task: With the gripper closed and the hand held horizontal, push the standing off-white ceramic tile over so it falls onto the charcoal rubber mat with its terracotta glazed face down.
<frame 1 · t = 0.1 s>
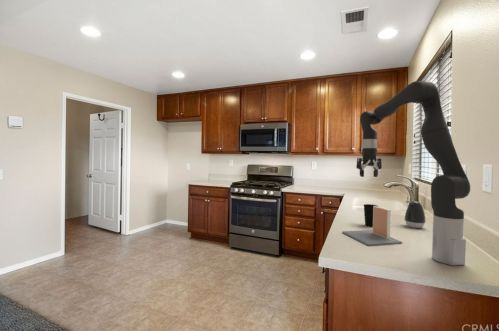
hand: (368, 176, 140), 29 cm above the countertop, tool pointing down, fingers open, 8 cm apart
pump dispenser: (414, 227, 146), on the countertop
mat: (370, 237, 124), on the countertop
tile: (380, 235, 126), point 1 cm above the countertop, touching mat
cup: (370, 226, 148), on the countertop
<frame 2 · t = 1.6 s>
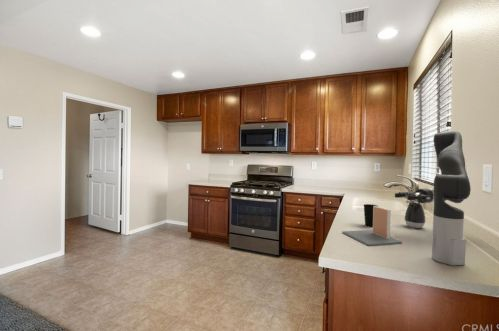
hand: (401, 196, 128), 20 cm above the countertop, tool horizontal, fingers open, 7 cm apart
nothing on the countertop moved.
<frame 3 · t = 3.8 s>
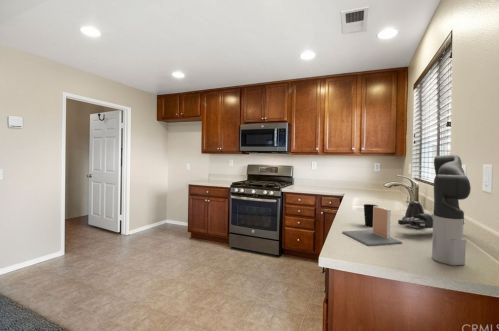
hand: (399, 222, 128), 7 cm above the countertop, tool horizontal, fingers closed
nothing on the countertop moved.
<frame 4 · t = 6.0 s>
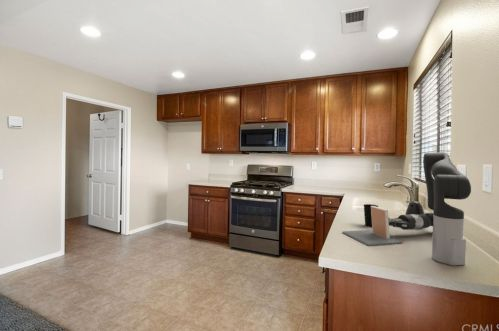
hand: (381, 223, 126), 7 cm above the countertop, tool horizontal, fingers closed
tile: (380, 235, 126), point 1 cm above the countertop, tilted 6°, touching mat
everything else where it was.
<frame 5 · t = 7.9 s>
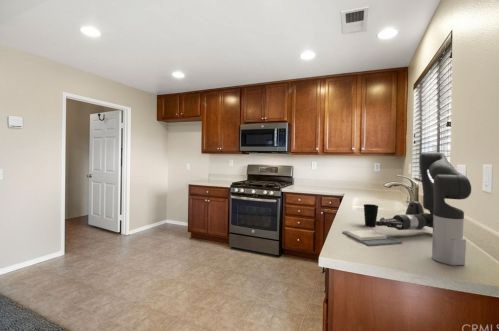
hand: (376, 223, 125), 7 cm above the countertop, tool horizontal, fingers closed
tile: (379, 234, 126), point 2 cm above the countertop, tilted 90°, touching mat
everything else where it was.
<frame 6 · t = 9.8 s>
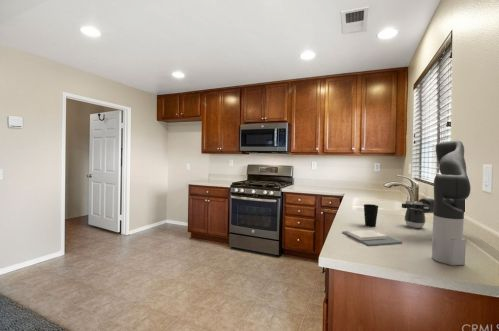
hand: (402, 205, 127), 16 cm above the countertop, tool horizontal, fingers closed
nothing on the countertop moved.
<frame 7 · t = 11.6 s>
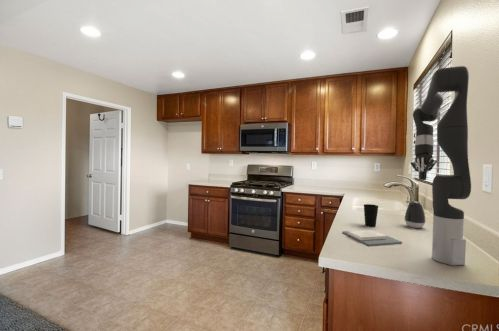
hand: (422, 179, 122), 29 cm above the countertop, tool pointing down, fingers closed
nothing on the countertop moved.
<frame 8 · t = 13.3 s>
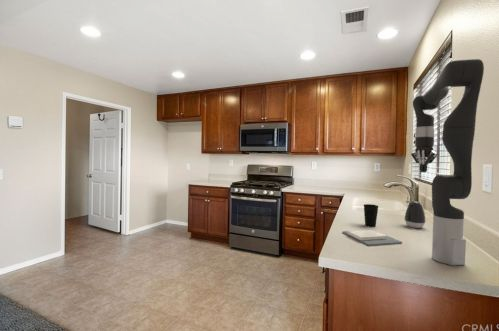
hand: (423, 172, 123), 33 cm above the countertop, tool pointing down, fingers closed
nothing on the countertop moved.
at the end: tile tilted 90°; tile inside the target area (1.5 cm from its centre), point 1.6 cm above the countertop; tile touching mat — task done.
